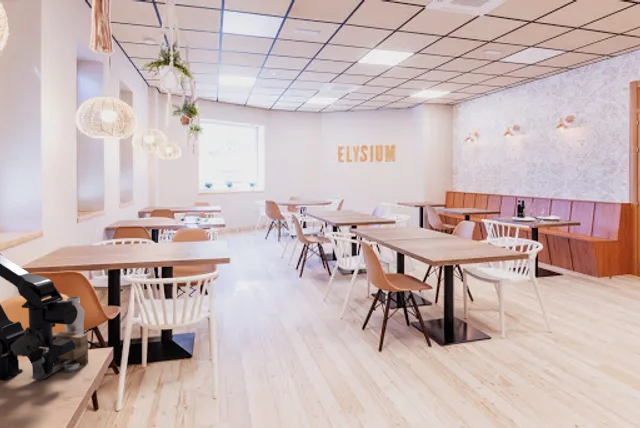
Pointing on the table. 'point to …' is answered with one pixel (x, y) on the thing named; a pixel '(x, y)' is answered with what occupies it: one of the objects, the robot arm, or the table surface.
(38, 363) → the grey mallet
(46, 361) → the robot arm
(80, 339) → the plinth cabinet
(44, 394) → the table surface
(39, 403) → the table surface
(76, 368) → the steel token
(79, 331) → the plastic bottle
